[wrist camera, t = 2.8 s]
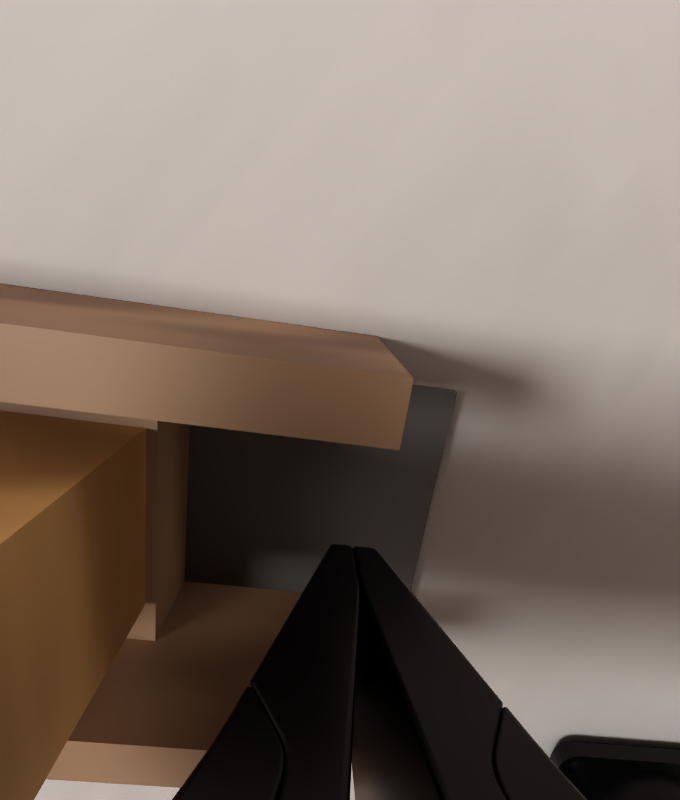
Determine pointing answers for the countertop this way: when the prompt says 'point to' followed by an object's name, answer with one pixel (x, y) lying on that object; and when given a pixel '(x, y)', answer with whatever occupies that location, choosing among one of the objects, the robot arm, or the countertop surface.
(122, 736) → the trough
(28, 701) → the block
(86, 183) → the countertop surface
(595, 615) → the countertop surface
